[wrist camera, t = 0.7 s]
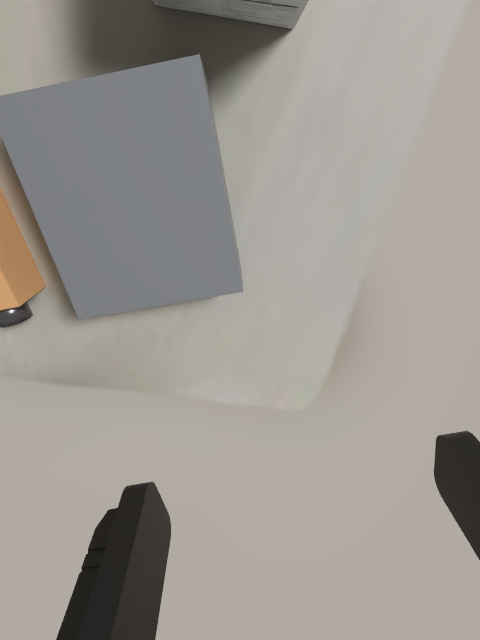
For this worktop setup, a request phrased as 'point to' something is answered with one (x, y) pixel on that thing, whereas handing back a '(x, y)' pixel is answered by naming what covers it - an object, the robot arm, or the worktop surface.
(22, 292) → the block
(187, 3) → the light bulb box
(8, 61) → the worktop surface
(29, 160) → the stand
